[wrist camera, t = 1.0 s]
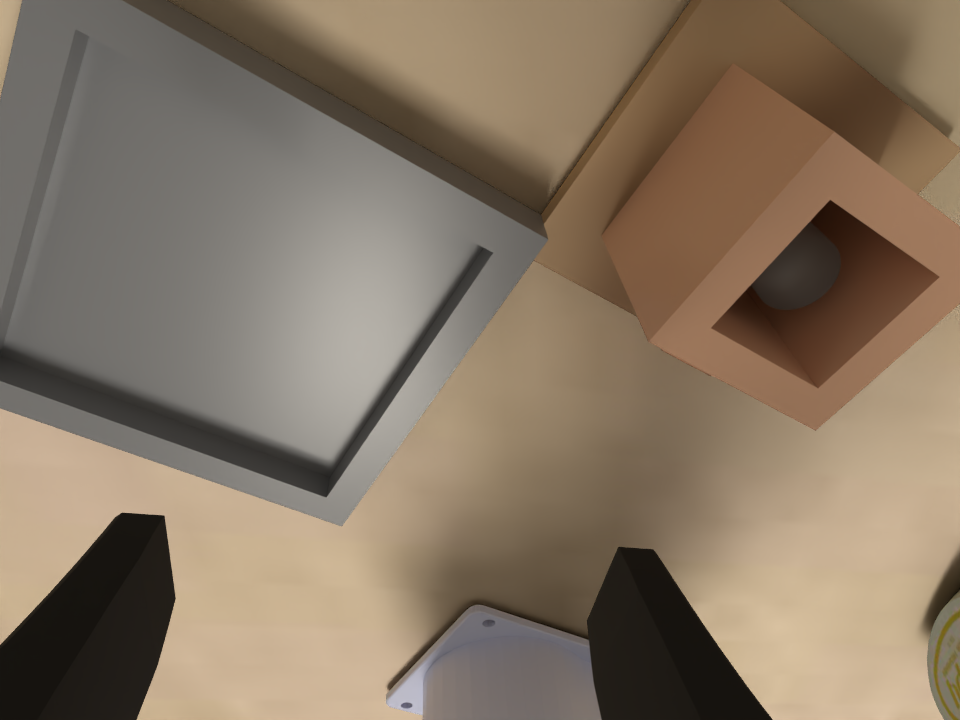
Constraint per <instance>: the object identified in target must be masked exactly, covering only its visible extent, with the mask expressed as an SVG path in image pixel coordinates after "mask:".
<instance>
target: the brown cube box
mask: <svg viewBox="0 0 960 720" xmlns="http://www.w3.org/2000/svg"><path fill="white" fill-rule="evenodd" d="M809 222H811V223H812V224H813V225H814V226H815V227H817V228H818V229H819V230H820V231H821V232H822V233H823V234H824V235H825V236H826V237H827V238H828V239H829V240H830V241H831V242H832V243H833V244H834V245H835V246H836V247H837V249H838V251H839V253H840V257H841V267H840V272H839V275H838V277H837V279H836V281H835V283H834V284H833V285H832V287H831V288H830V289H829V290H828V291H827V292H826V293H825V294H824V295H823V296H822V297H821V298H819V299H818V300H816V301H815V302H813V303H811V304H809V305H807V306H804V307H801V308H798V309H792V310H780V309H776V308H773V307H770V306H768V305H767V304H765V303H764V302H763V301H762V300H761V298H760V297H759V296H758V294H757V293H756V292H755V290H754V289H753V288H752V286H751V284H752V283H753V282H754V281H755V280H756V279H757V278H758V277H759V276H760V275H761V273H762V272H763V271H764V270H765V269H766V268H767V267H768V266H769V265H770V264H771V263H772V262H773V261H774V259H775V258H776V257H777V256H778V255H779V254H780V253H781V252H782V251H783V250H784V249H785V248H786V247H787V246H788V244H789V243H790V242H791V241H792V240H793V239H794V238H795V237H796V236H797V235H798V234H799V233H800V232H801V230H802V229H803V228H804V227H805V226H806V225H807V224H808V223H809ZM601 236H602V239H603V241H604V243H605V245H606V247H607V250H608V252H609V254H610V256H611V259H612V261H613V263H614V265H615V268H616V270H617V272H618V274H619V277H620V279H621V281H622V283H623V286H624V288H625V290H626V292H627V295H628V297H629V299H630V301H631V303H632V306H633V308H634V310H635V312H636V315H637V317H638V319H639V321H640V324H641V326H642V328H643V330H644V333H645V335H646V337H647V339H648V342H650V343H652V344H654V345H655V346H657V347H659V348H661V350H662V351H664V352H666V353H668V354H670V355H672V356H673V357H675V358H677V359H679V360H681V361H683V362H685V363H687V364H688V365H690V366H692V367H694V368H696V369H698V370H700V371H702V372H704V373H705V374H707V375H709V376H711V375H712V376H714V377H716V378H718V379H719V380H721V381H723V382H725V383H727V384H729V385H731V386H733V387H734V388H736V389H738V390H740V391H742V392H744V393H746V394H748V395H750V396H751V397H753V398H755V399H757V400H759V401H761V402H763V403H765V404H766V405H768V406H770V407H772V408H774V409H776V410H778V411H780V412H782V413H783V414H785V415H787V416H789V417H791V418H793V419H795V420H797V421H798V422H800V423H802V424H804V425H806V426H808V427H810V428H812V429H814V430H817V429H818V428H819V427H820V426H821V425H822V424H823V423H825V422H826V421H827V420H828V419H829V418H830V417H831V416H833V415H834V414H835V413H836V412H837V411H838V410H839V409H840V408H842V407H843V406H844V405H845V404H846V403H847V402H848V401H850V400H851V399H852V398H853V397H854V396H855V395H856V394H858V393H859V392H860V391H861V390H862V389H863V388H864V387H865V386H867V385H868V384H869V383H870V382H871V381H872V380H873V379H875V378H876V377H877V376H878V375H879V374H880V373H881V372H883V371H884V370H885V369H886V368H887V367H888V366H889V365H891V364H892V363H893V362H894V361H895V360H896V359H897V358H898V357H900V356H901V355H902V354H903V353H904V352H905V351H906V350H908V349H909V348H910V347H911V346H912V345H913V344H914V343H916V342H917V341H918V340H919V339H920V338H921V337H922V336H923V335H925V334H926V333H927V332H928V331H929V330H930V329H931V328H933V327H934V326H935V325H936V324H937V323H938V322H939V321H941V320H942V319H943V318H944V317H945V316H946V315H947V314H948V313H950V312H951V311H952V310H953V309H954V308H955V307H956V306H958V305H959V304H960V226H959V225H957V224H956V223H955V222H953V221H952V220H951V219H949V218H948V217H947V216H945V215H944V214H943V213H941V212H940V211H939V210H937V209H936V208H935V207H933V206H932V205H931V204H929V203H928V202H927V201H925V200H924V199H923V198H922V197H920V196H919V195H918V194H916V193H915V192H914V191H912V190H911V189H910V188H908V187H907V186H906V185H904V184H903V183H902V182H900V181H899V180H898V179H896V178H895V177H894V176H892V175H891V174H890V173H888V172H887V171H886V170H884V169H883V168H882V167H881V166H879V165H878V164H877V163H875V162H874V161H873V160H871V159H870V158H869V157H867V156H866V155H865V154H863V153H862V152H861V151H859V150H858V149H857V148H855V147H854V146H853V145H851V144H850V143H849V142H847V141H846V140H845V139H843V138H842V137H841V136H840V135H838V134H837V133H836V132H834V131H833V130H831V129H830V128H828V127H827V126H825V125H824V124H822V123H821V122H819V121H818V120H816V119H815V118H813V117H812V116H811V115H809V114H808V113H806V112H805V111H803V110H802V109H800V108H799V107H797V106H796V105H794V104H793V103H791V102H790V101H788V100H787V99H785V98H784V97H782V96H781V95H779V94H778V93H777V92H775V91H774V90H772V89H771V88H769V87H768V86H766V85H765V84H763V83H762V82H760V81H759V80H757V79H756V78H754V77H753V76H751V75H750V74H748V73H747V72H745V71H744V70H743V69H741V68H740V67H738V66H737V65H735V64H734V63H733V64H732V65H731V66H730V68H729V69H728V70H727V71H726V73H725V74H724V75H723V77H722V78H721V79H720V81H719V82H718V83H717V85H716V86H715V87H714V88H713V90H712V91H711V92H710V94H709V95H708V96H707V98H706V99H705V100H704V102H703V103H702V104H701V106H700V107H699V108H698V109H697V111H696V112H695V113H694V115H693V116H692V117H691V119H690V120H689V121H688V123H687V124H686V125H685V126H684V128H683V129H682V130H681V132H680V133H679V134H678V136H677V137H676V138H675V140H674V141H673V142H672V144H671V145H670V146H669V147H668V149H667V150H666V151H665V153H664V154H663V155H662V157H661V158H660V159H659V161H658V162H657V163H656V164H655V166H654V167H653V168H652V170H651V171H650V172H649V174H648V175H647V176H646V178H645V179H644V180H643V182H642V183H641V184H640V185H639V187H638V188H637V189H636V191H635V192H634V193H633V195H632V196H631V197H630V199H629V200H628V201H627V202H626V204H625V205H624V206H623V208H622V209H621V210H620V212H619V213H618V214H617V216H616V217H615V218H614V219H613V221H612V222H611V223H610V225H609V226H608V227H607V229H606V230H605V231H604V233H603V234H602V235H601Z"/></svg>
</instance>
